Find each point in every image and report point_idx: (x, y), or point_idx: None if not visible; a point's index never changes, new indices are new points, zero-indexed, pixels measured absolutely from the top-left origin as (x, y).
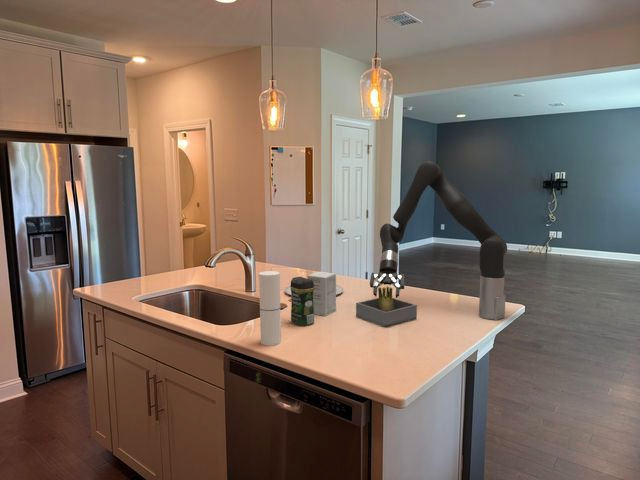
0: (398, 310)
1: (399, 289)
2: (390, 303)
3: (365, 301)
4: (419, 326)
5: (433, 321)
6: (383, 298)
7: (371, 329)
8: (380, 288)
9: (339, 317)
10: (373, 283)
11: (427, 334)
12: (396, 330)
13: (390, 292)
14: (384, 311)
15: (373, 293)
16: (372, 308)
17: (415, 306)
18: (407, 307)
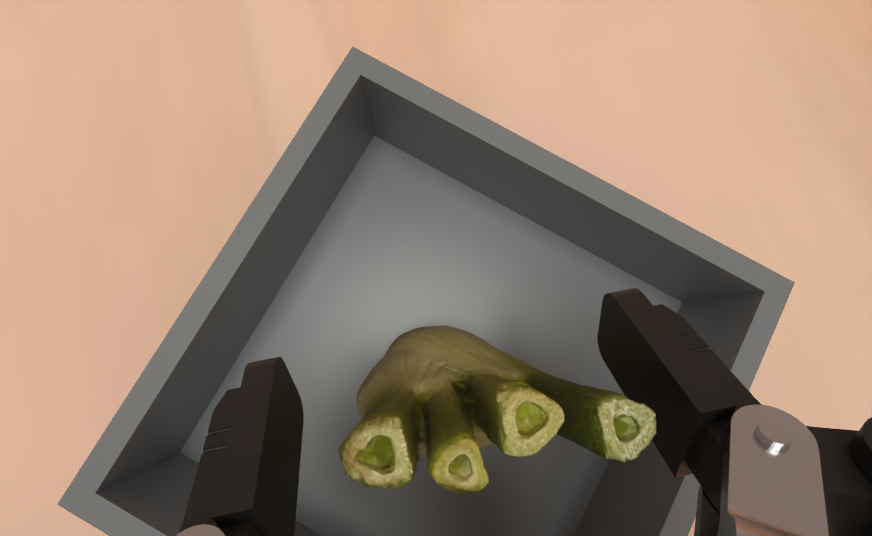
0: (252, 210)
1: (191, 516)
2: (388, 373)
3: None
4: (114, 261)
5: (3, 454)
6: (489, 367)
7: (460, 51)
8: (596, 395)
9: (805, 225)
10: (857, 493)
11: (32, 101)
12: (277, 99)
13: (380, 403)
14: (380, 85)
15: (662, 313)
16: (538, 146)
17: (84, 474)
18: (163, 342)
